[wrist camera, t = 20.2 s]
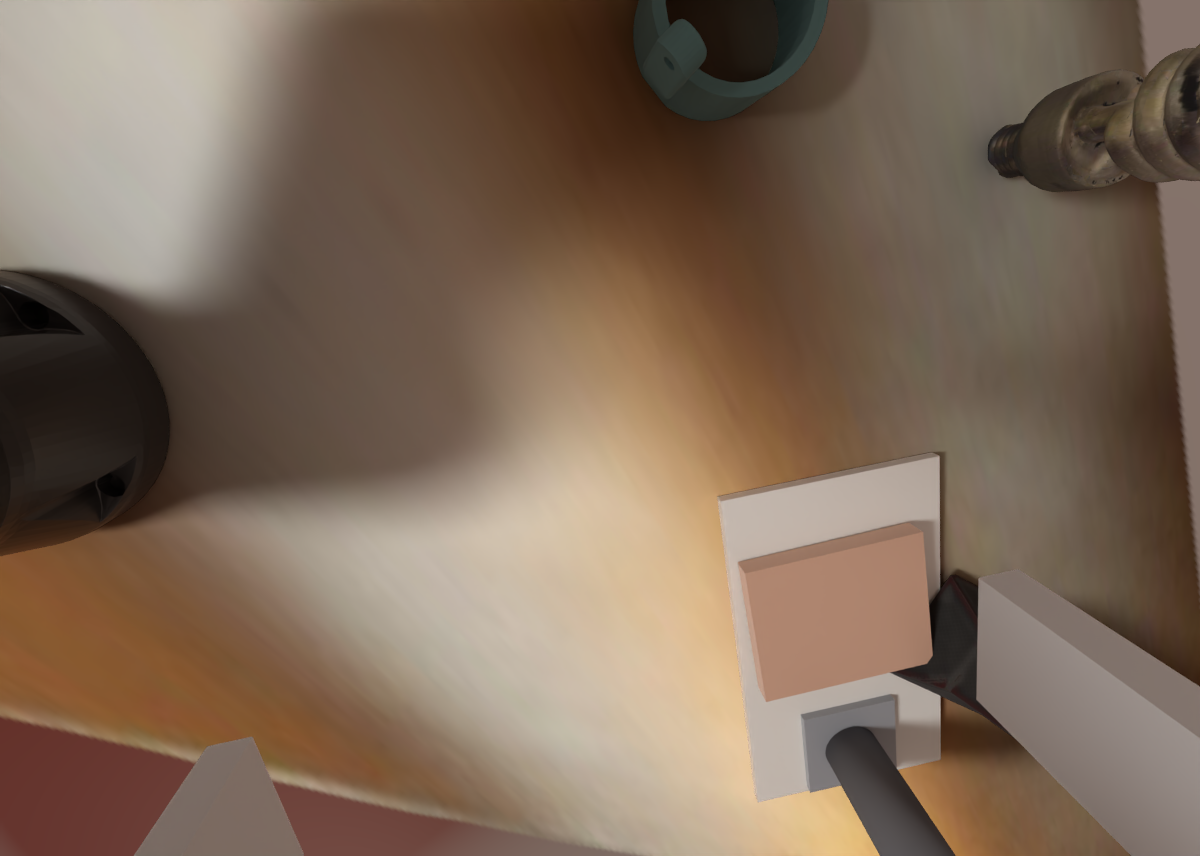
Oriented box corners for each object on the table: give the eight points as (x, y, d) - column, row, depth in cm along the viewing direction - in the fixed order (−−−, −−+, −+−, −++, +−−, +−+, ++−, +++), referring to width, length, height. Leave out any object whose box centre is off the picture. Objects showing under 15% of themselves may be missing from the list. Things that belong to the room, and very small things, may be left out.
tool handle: (826, 773, 45) (921, 951, 34) (824, 732, 44) (923, 903, 33) (876, 763, 45) (988, 937, 34) (876, 722, 44) (992, 888, 33)
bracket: (800, -49, 31) (900, -167, 22) (765, 141, 33) (844, 100, 25) (632, -83, 30) (670, -222, 21) (609, 115, 32) (634, 63, 24)
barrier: (880, 668, 43) (984, 782, 34) (950, 571, 42) (1079, 662, 32) (1087, 763, 49) (1225, 883, 40) (1155, 681, 48) (1314, 786, 38)
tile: (736, 561, 40) (757, 685, 42) (744, 573, 38) (766, 702, 41) (907, 521, 40) (918, 647, 43) (923, 532, 38) (933, 662, 41)
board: (754, 793, 47) (760, 809, 45) (717, 496, 39) (723, 505, 38) (934, 751, 48) (945, 765, 46) (931, 452, 40) (945, 458, 39)
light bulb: (1051, 98, 34) (1420, -15, 20) (1041, 198, 36) (1377, 160, 22) (959, 108, 34) (1268, 1, 20) (954, 209, 36) (1236, 178, 21)
